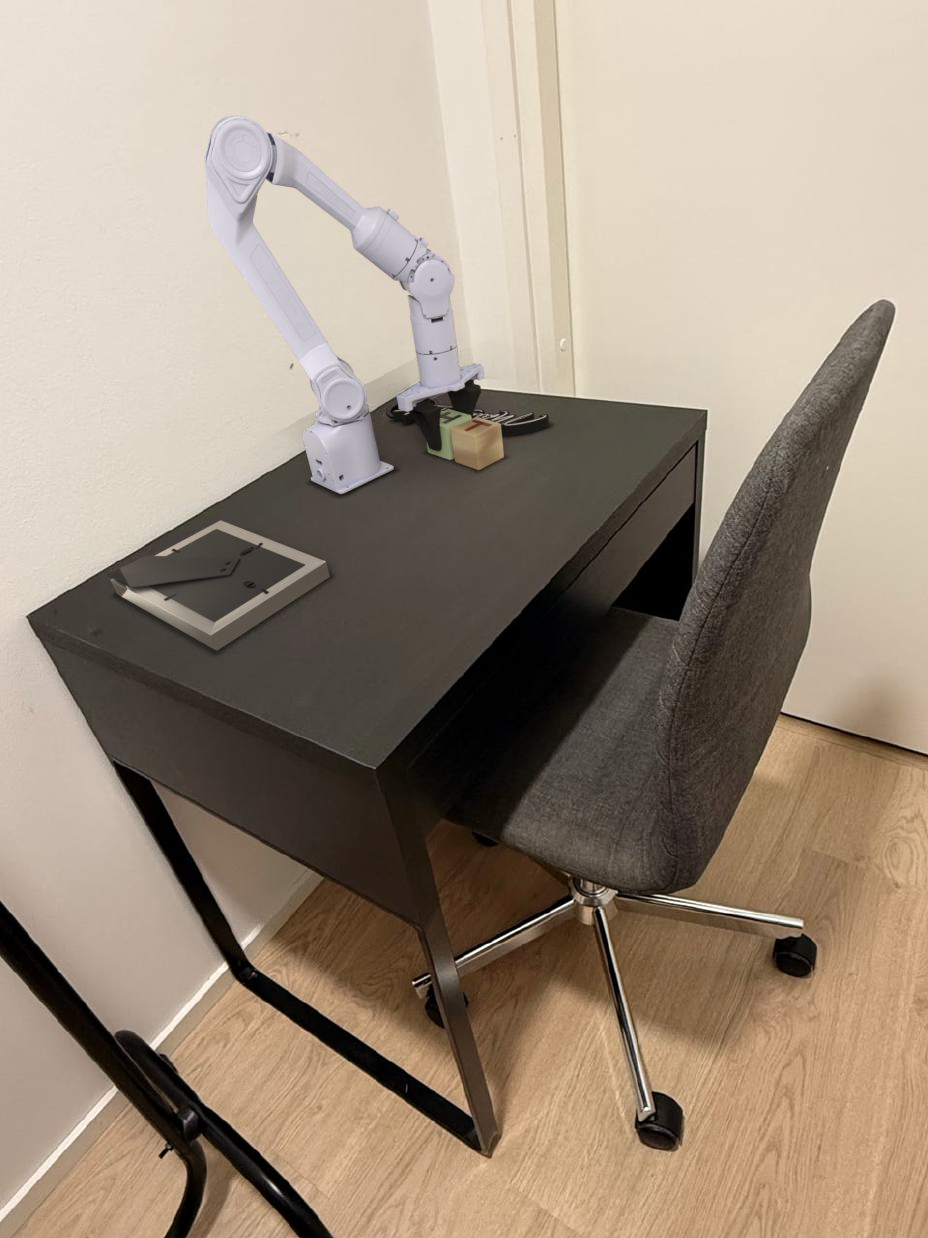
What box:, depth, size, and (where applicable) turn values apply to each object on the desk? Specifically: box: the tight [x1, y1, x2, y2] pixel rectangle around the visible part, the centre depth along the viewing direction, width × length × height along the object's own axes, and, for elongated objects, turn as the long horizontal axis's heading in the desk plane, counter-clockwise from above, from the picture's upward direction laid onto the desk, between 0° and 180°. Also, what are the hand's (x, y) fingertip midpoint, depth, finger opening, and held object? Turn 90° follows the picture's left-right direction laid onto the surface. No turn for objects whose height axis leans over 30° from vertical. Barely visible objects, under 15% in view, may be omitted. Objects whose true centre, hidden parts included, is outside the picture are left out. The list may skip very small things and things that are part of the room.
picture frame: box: [107, 520, 331, 652], centre depth 86 cm, size 16×3×21 cm
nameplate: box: [391, 403, 550, 437], centre depth 118 cm, size 28×2×10 cm
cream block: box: [451, 417, 505, 471], centre depth 105 cm, size 5×5×5 cm
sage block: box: [425, 409, 471, 461], centre depth 109 cm, size 5×5×5 cm
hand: (450, 441), depth 109 cm, fingers open, 5 cm apart
